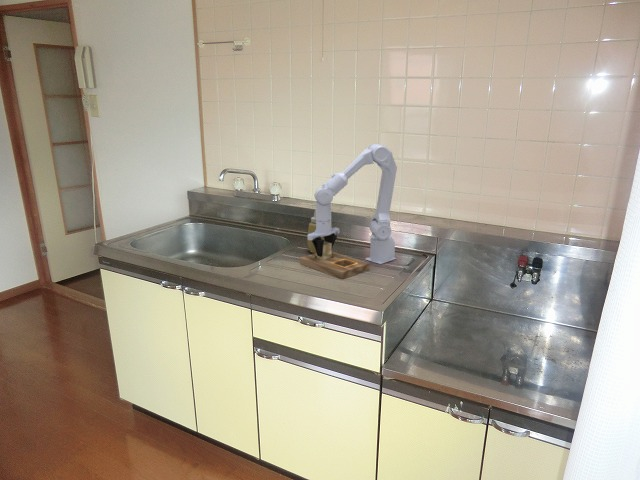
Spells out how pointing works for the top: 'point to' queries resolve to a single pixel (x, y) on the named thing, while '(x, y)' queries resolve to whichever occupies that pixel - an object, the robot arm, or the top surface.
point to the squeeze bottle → (312, 229)
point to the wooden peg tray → (336, 265)
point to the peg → (326, 251)
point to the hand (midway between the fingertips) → (324, 254)
